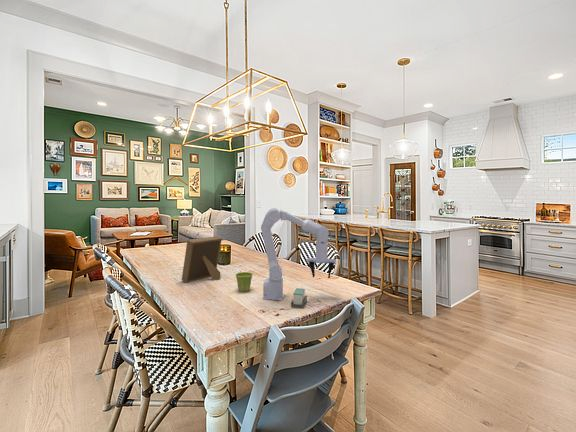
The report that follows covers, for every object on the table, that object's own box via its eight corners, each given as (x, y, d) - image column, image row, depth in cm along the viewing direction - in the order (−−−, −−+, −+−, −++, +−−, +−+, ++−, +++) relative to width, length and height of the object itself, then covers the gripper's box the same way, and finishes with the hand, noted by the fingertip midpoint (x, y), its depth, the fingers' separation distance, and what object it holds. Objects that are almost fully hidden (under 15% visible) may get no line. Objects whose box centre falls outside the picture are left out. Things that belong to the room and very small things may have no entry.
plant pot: (256, 290, 159) (256, 274, 159) (242, 294, 152) (242, 277, 152) (245, 286, 166) (245, 271, 165) (231, 290, 159) (231, 274, 158)
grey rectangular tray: (291, 307, 135) (291, 302, 135) (295, 299, 146) (295, 294, 146) (303, 308, 134) (303, 303, 134) (306, 300, 144) (306, 295, 144)
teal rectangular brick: (293, 304, 136) (293, 293, 135) (296, 298, 144) (296, 288, 143) (301, 304, 135) (302, 294, 135) (304, 298, 143) (304, 288, 142)
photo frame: (181, 281, 174) (181, 239, 173) (211, 273, 192) (211, 235, 190) (197, 286, 166) (197, 241, 164) (227, 278, 183) (227, 237, 182)
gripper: (306, 251, 146) (305, 278, 147) (336, 252, 143) (335, 280, 144) (308, 248, 153) (307, 274, 153) (336, 249, 149) (336, 276, 150)
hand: (321, 277), depth 149 cm, fingers open, 7 cm apart
